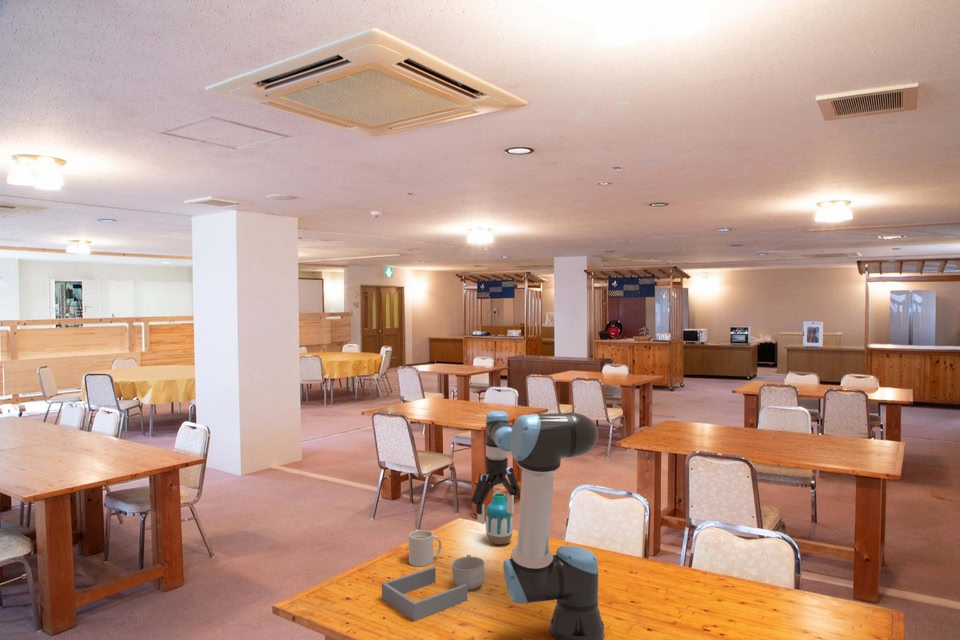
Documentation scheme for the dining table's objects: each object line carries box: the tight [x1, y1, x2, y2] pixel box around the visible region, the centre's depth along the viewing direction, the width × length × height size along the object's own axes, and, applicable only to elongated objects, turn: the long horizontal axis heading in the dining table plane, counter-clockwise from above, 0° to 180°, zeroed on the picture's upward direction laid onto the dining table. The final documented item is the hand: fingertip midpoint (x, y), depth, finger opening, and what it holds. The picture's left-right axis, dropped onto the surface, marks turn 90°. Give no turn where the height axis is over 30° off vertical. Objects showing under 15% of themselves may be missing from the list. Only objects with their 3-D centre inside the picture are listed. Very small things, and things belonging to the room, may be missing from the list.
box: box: [381, 566, 468, 622], centre depth 195 cm, size 18×20×5 cm
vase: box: [485, 492, 514, 545], centre depth 243 cm, size 11×11×19 cm
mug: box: [408, 529, 443, 567], centre depth 225 cm, size 11×10×10 cm
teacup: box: [451, 554, 485, 591], centre depth 207 cm, size 14×11×8 cm
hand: (495, 517), depth 213 cm, fingers open, 13 cm apart
